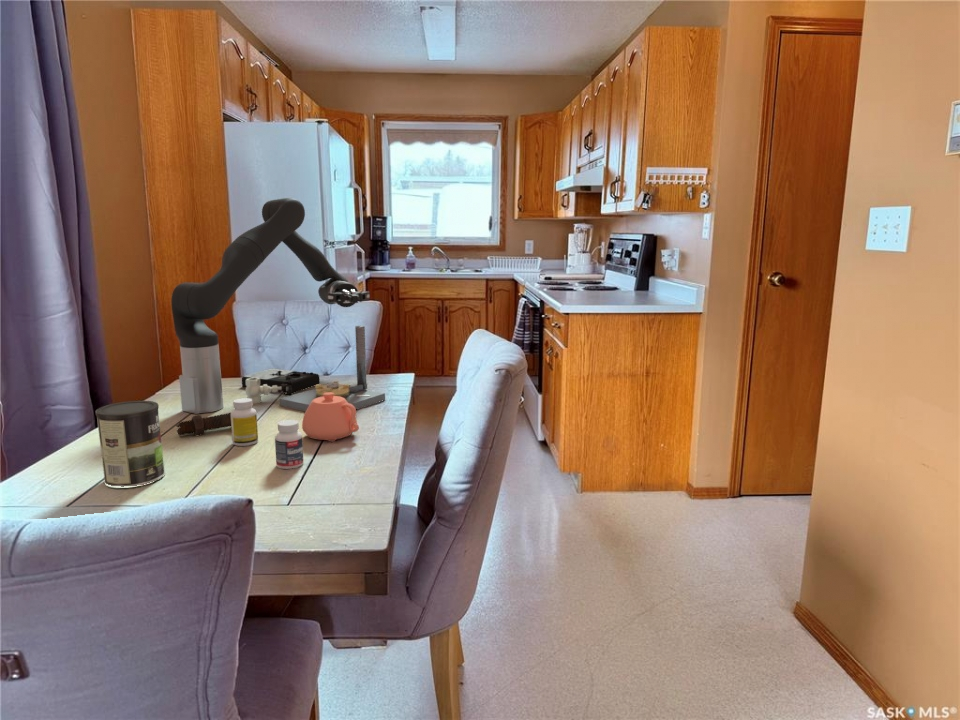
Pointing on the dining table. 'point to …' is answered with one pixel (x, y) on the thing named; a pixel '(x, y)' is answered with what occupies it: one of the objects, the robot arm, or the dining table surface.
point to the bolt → (203, 424)
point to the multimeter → (284, 379)
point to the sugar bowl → (329, 418)
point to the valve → (265, 389)
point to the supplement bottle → (244, 423)
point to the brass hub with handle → (361, 384)
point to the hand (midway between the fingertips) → (355, 299)
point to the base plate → (355, 397)
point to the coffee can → (130, 443)
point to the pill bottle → (289, 445)
